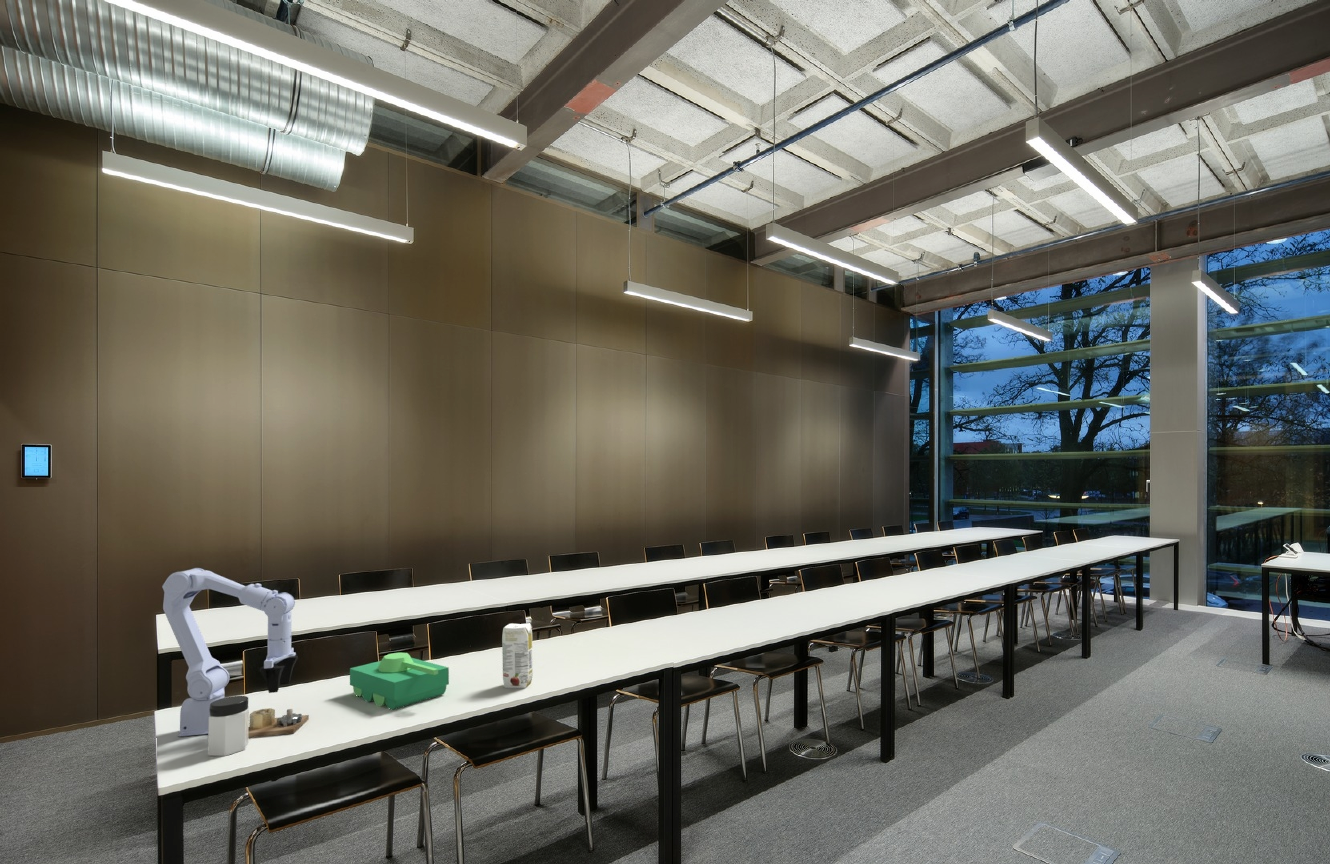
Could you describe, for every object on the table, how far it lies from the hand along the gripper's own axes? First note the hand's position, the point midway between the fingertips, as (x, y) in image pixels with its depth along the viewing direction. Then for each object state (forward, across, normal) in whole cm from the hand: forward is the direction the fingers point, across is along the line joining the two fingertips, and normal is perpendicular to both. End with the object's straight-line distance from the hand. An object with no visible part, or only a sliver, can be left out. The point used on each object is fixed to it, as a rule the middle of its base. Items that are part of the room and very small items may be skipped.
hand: (279, 687), depth 182 cm
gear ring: (+9, -3, +3) cm, 10 cm away
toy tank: (+10, +16, -30) cm, 35 cm away
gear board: (+10, -3, 0) cm, 10 cm away
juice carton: (+10, +19, -64) cm, 67 cm away
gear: (+9, -3, -4) cm, 10 cm away
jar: (+10, -16, +5) cm, 20 cm away
